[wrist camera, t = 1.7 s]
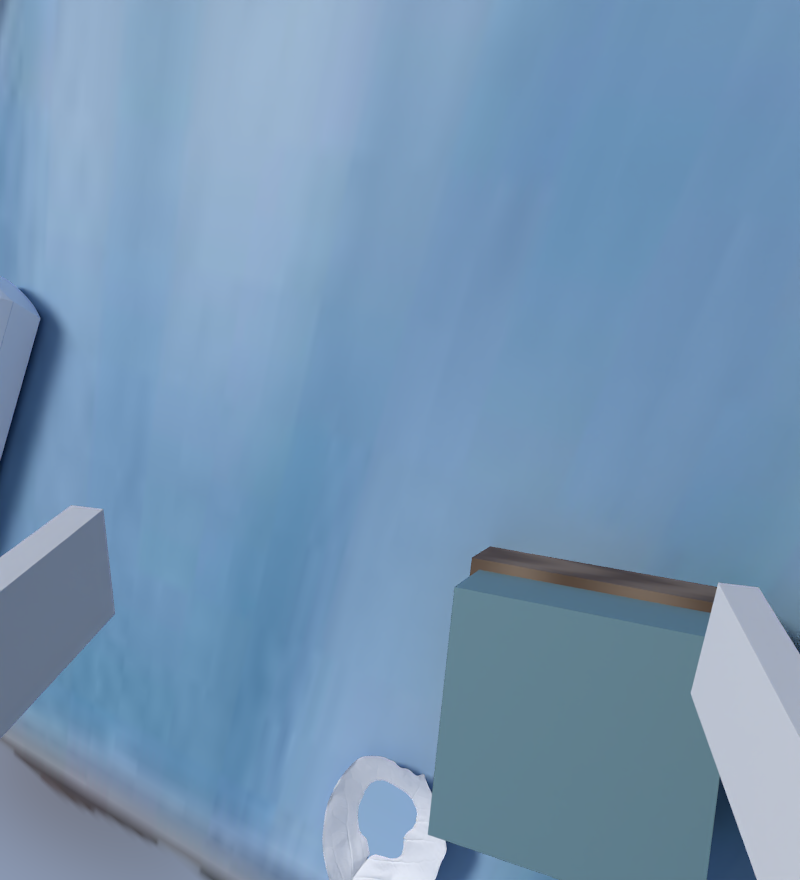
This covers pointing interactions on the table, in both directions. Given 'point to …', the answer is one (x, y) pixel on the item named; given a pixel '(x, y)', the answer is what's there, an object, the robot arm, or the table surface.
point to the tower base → (596, 578)
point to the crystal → (13, 349)
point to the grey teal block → (574, 733)
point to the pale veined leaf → (349, 848)
